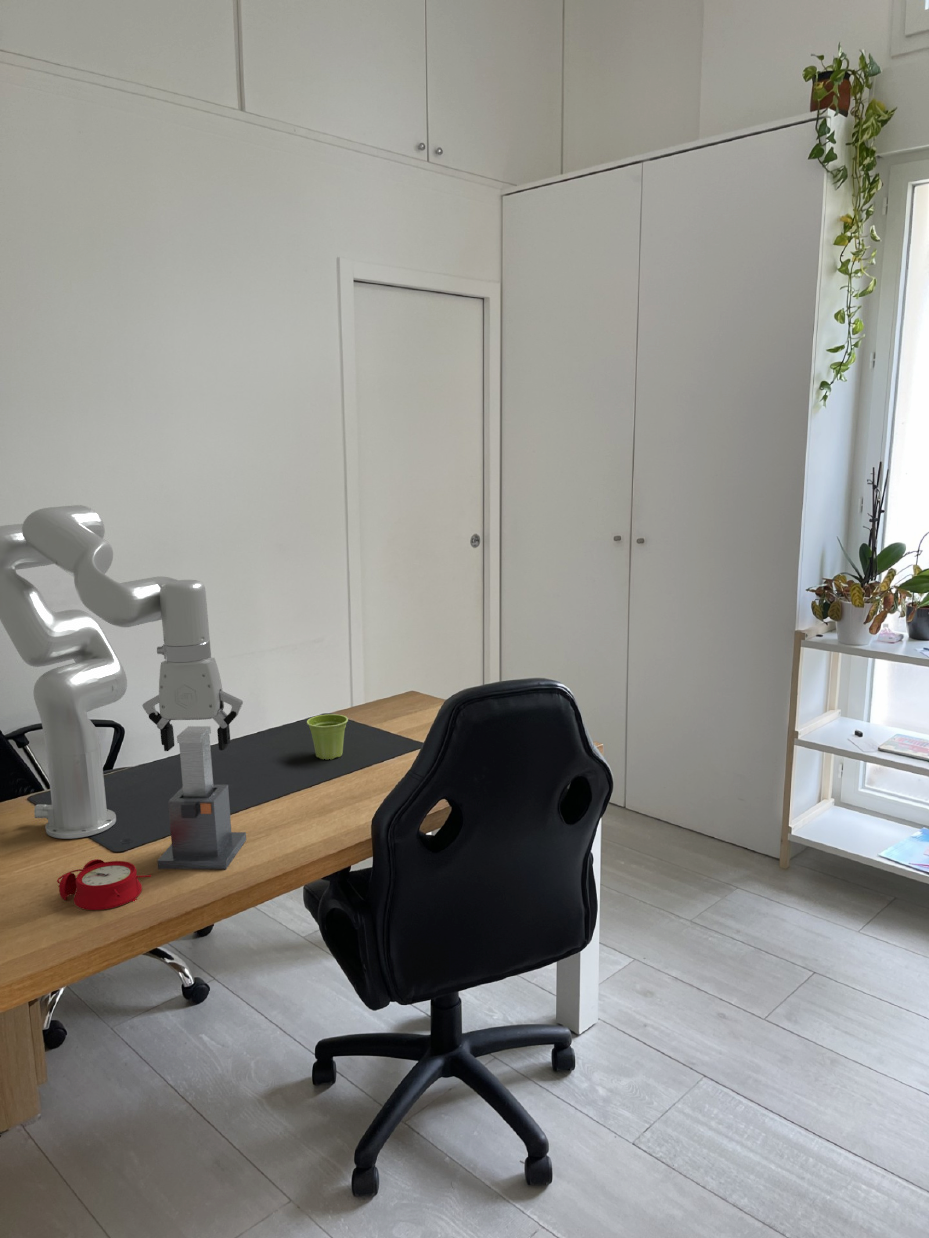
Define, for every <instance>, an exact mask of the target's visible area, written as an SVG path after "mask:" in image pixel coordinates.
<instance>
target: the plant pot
mask: <svg viewBox="0 0 929 1238" xmlns="http://www.w3.org/2000/svg"><path fill="white" fill-rule="evenodd" d="M348 722H349V718H348V717H347V716H345V715H342V714H335V713H333V714H331V713H330V714H320V715H316V716H312V717H310V718H308V719H307V720H306V724H307V726H308V727H309V731H310V732H311V738H312V742H313V747H314V753H315V756H316V758H319V759H320V760H324V759H325V760H329V759H330V760H334V759H335V758H340V757H342V755H343V751H344V741H345V739H344V738H345V731H346V730H345V729H346V727H347V723H348Z"/></svg>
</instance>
